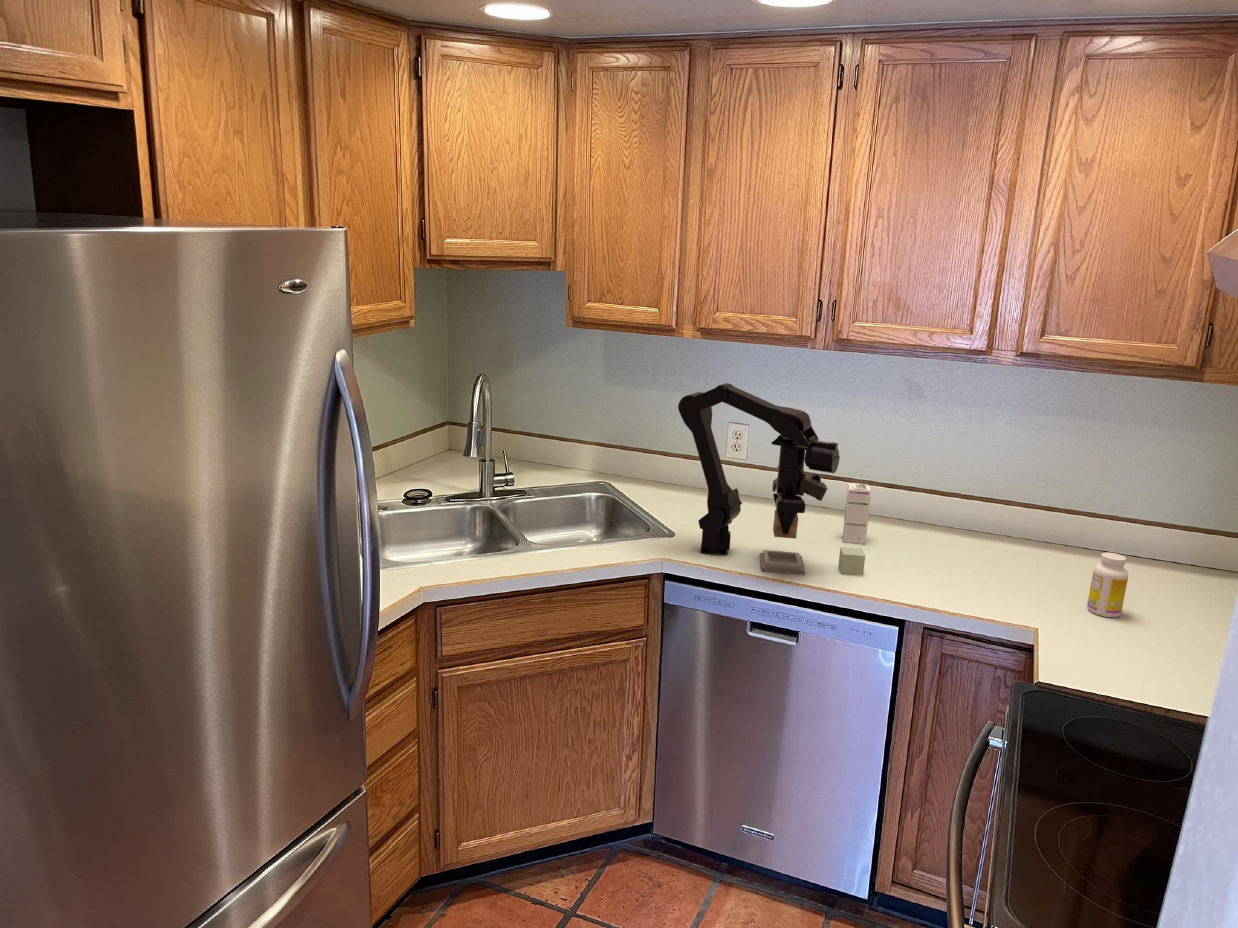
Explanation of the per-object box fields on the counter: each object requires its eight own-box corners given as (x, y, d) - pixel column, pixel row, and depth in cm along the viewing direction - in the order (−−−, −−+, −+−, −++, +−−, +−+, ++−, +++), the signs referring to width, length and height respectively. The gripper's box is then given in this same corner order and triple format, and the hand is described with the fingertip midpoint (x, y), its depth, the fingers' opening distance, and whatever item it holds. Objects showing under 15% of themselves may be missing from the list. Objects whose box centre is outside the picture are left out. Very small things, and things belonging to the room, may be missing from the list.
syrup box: (865, 544, 233) (872, 490, 229) (842, 542, 234) (848, 487, 230) (864, 537, 238) (871, 484, 235) (841, 535, 240) (847, 481, 236)
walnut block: (774, 536, 212) (776, 516, 210) (773, 529, 217) (774, 509, 215) (796, 538, 211) (798, 518, 210) (794, 531, 216) (796, 511, 215)
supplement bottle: (1124, 612, 198) (1135, 556, 194) (1116, 621, 193) (1127, 564, 190) (1091, 603, 202) (1101, 548, 199) (1082, 611, 197) (1092, 555, 194)
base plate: (761, 571, 212) (762, 563, 211) (759, 556, 221) (760, 548, 221) (805, 574, 211) (805, 566, 210) (801, 559, 220) (802, 551, 220)
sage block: (841, 574, 212) (843, 554, 211) (838, 566, 217) (840, 546, 216) (862, 576, 212) (865, 555, 211) (859, 568, 217) (861, 548, 215)
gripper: (831, 479, 200) (824, 546, 204) (822, 458, 218) (815, 520, 222) (780, 475, 201) (773, 542, 205) (775, 454, 219) (769, 516, 223)
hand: (784, 530), depth 214 cm, fingers closed on walnut block, 5 cm apart
